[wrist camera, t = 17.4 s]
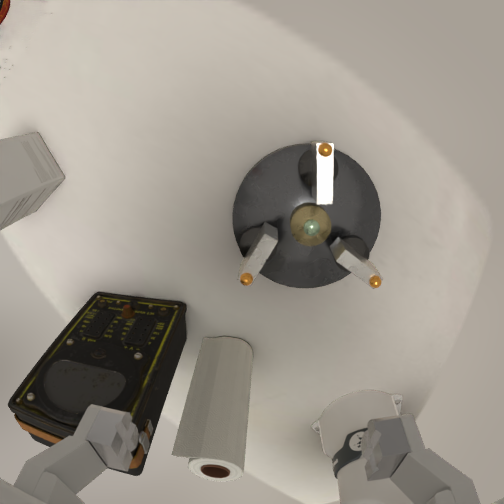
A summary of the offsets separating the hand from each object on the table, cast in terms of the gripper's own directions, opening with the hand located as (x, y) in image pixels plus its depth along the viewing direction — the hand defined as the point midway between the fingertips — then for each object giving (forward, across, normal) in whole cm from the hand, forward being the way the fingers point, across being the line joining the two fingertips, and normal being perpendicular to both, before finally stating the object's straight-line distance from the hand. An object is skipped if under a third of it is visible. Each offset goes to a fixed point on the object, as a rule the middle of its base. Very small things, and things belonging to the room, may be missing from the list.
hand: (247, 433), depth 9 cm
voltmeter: (+31, +19, +17) cm, 40 cm away
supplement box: (+31, +33, -6) cm, 46 cm away
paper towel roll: (+31, +5, +23) cm, 39 cm away
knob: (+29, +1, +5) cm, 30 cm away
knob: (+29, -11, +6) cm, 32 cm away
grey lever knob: (+29, -6, -4) cm, 30 cm away
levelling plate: (+31, -5, +2) cm, 32 cm away
